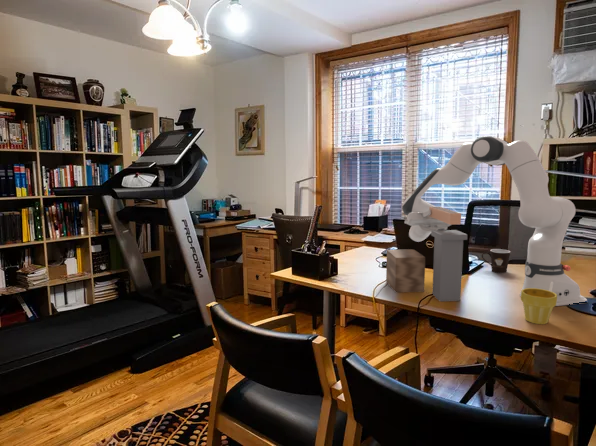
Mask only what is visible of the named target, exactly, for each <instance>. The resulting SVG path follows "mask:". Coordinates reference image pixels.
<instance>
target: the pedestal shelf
mask: <svg viewBox="0 0 596 446" xmlns="http://www.w3.org/2000/svg"><path fill="white" fill-rule="evenodd" d="M430 236H431V237H434V243H433V269H432V291H431V292H432V293H431V294H433V295H434V296H435V297H434V296H433V295H432V296H433V297H434V298H435V299H437V300H438V302H460V301H461V295H462V278H463V277H462V276H463V274H462V273H463V254H464V252H463V251H464V241H468V234H467V233H464V232H462V231H460V230H458V229H451V230H450V229H446V230H431V234H430Z"/></svg>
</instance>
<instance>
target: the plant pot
mask: <svg viewBox="0 0 596 446" xmlns="http://www.w3.org/2000/svg"><path fill="white" fill-rule="evenodd" d="M521 290H522V289H521ZM521 290H520V293H521V296H520V300H521V302H522V304H523V310H524V311H523V313H524V318H525V319H524V320H526V321H527V322H529V323H532V324H535V325H546V324H548V323H549V320H550V318H551V315H552V312H553V309H554V307H557V306H556V302H557V295H556V294H555V293H554V292H551V291H548V290H544V289H538V288H526V289H523V290H522V291H521Z"/></svg>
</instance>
